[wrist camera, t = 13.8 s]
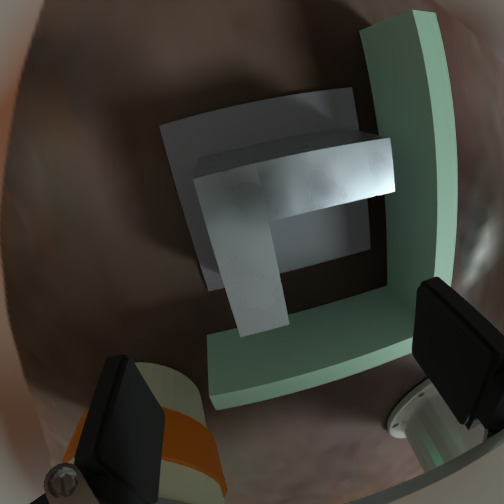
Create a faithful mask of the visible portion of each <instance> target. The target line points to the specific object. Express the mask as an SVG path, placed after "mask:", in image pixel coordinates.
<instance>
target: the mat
mask: <svg viewBox="0 0 504 504" xmlns="http://www.w3.org/2000/svg"><path fill="white" fill-rule="evenodd" d="M159 127H160V131H161V135H162V139H163V142H164V146H165V150H166V153H167V157H168V161H169V164H170V168H171V171H172V175H173V178H174V182H175V185H176V189H177V192H178V196H179V199H180V202H181V206H182V209H183V212H184V216H185V219H186V222H187V226H188V229H189V232H190V235H191V238H192V242H193V245H194V248H195V251H196V254H197V257H198V260H199V264H200V267H201V270H202V273H203V276H204V279H205V282H206V285H207V288H208V291H213V290H217V289H221V288H225V286H224V283H223V280H222V277H221V274H220V270H219V267H218V264H217V260H216V257H215V254H214V250H213V247H212V244H211V240H210V237H209V234H208V230H207V227H206V223H205V220H204V217H203V213H202V210H201V206H200V203H199V199H198V196H197V192H196V189H195V185H194V181H193V177H194V172H195V168H196V164H197V160H198V158H201V157H204V156H208V155H212V154H216V153H220V152H224V151H228V150H232V149H236V148H240V147H244V146H249V145H253V144H257V143H262V142H266V141H271V140H276V139H281V138H286V137H291V136H296V135H301V134H306V133H312V132H317V131H323V130H329V129H335V128H343V129H348V130H354V131H359V126H358V119H357V113H356V107H355V101H354V96H353V90H352V87H349V88H340V89H331V90H323V91H315V92H308V93H301V94H294V95H288V96H282V97H276V98H271V99H265V100H260V101H255V102H250V103H245V104H241V105H236V106H231V107H227V108H223V109H218V110H214V111H210V112H206V113H202V114H198V115H195V116H191V117H187V118H184V119H180V120H176V121H173V122H170V123H166V124H163V125H160V126H159ZM269 226H270V231H271V236H272V240H273V245H274V250H275V255H276V260H277V264H278V269H279V274H280V273H284V272H288V271H292V270H296V269H299V268H303V267H307V266H311V265H315V264H318V263H322V262H326V261H329V260H333V259H337V258H340V257H344V256H348V255H351V254H355V253H359V252H362V251H366V250H369V249H371V244H370V227H369V213H368V201H367V198H365V199H361V200H357V201H352V202H348V203H344V204H340V205H335V206H331V207H327V208H323V209H319V210H315V211H310V212H306V213H302V214H298V215H294V216H290V217H286V218H282V219H278V220H274V221H270V222H269Z"/></svg>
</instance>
